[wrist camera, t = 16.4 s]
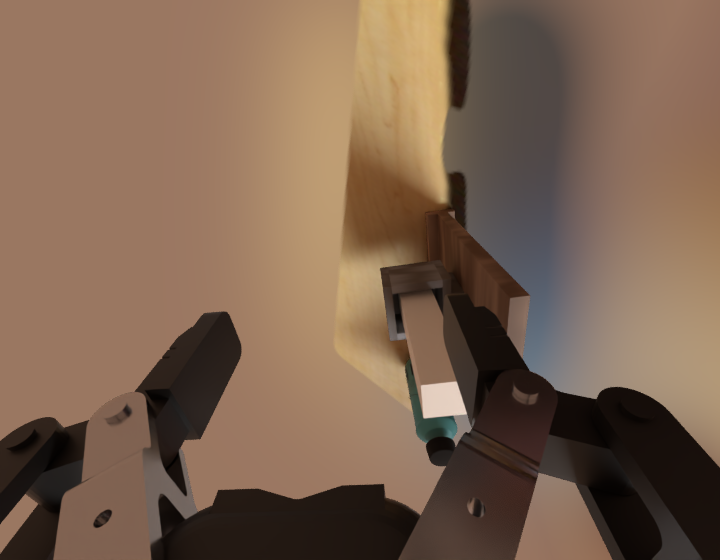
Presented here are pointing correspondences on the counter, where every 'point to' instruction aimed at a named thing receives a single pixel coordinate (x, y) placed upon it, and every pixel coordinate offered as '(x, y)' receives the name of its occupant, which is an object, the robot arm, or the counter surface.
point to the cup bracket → (457, 278)
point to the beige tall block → (429, 355)
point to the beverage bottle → (431, 426)
